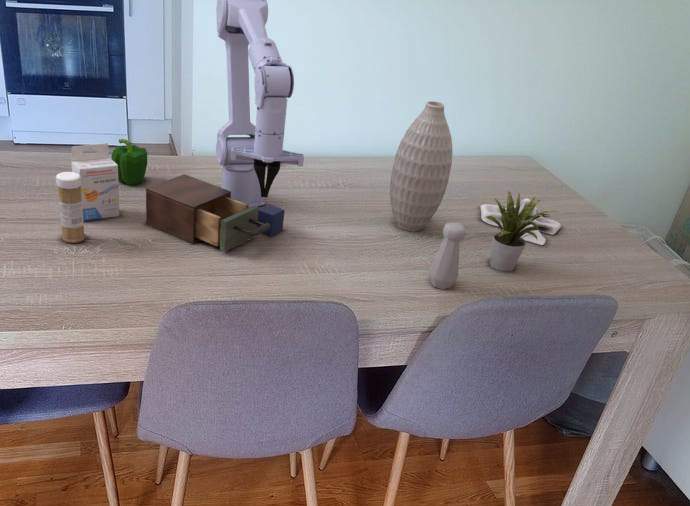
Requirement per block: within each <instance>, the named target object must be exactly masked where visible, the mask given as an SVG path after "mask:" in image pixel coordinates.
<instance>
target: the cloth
mask: <svg viewBox="0 0 690 506" xmlns="http://www.w3.org/2000/svg"><path fill="white" fill-rule="evenodd" d="M531 200H532V199H530V198H524V199H521V201H520V210H519V213H520V212H521V211H522V209H523V208H524V207H525V206H526V205H527V204H528V203H529V202H530V201H531ZM504 207H505V206H504ZM514 207H515V208H516V205H514ZM498 208H499V206H498V204H489V203H488V204H481V205H479V209H480V215H481V216H480V217H481V220H482V222H484V223H486V224H488V225H490V226H492V227H493V226H494V227H499V226H498V224H496V223H495V222H493V221H491V220H489V219H487V218H486V216H492V217H494V218H496V219H497V220H498V221H499V223H500V224H501V226H502V228H503V224H502V221H501V217H502V215H501V213H500V210H499V209H498ZM506 209H507V206H506V207H505V210H506ZM540 212H541V211H540V209H539V208H538V207H536V206H535V208H534V210H533V211H532V212H531V213H530V214H529V215H528V216H533V215H535V214H537V213H540ZM518 215H519V214H518ZM534 218H535V217H534ZM531 220H532V219H531ZM523 222H524V221H523ZM523 222H522V223H523ZM528 222H529V221H528ZM532 222H533V223H535V224H536V225H547V226H539V227H538V228H539V229H540V230H534V231H530V232H533V233H535V234H536V236H537V239H536V238H535V237H534V236H532V235H531V234H529V233H525V234H524V235H522V236H521V238H522V237H523V239H524V240H525V241H526V242H529V243H532V244H535V245H538V246H544V245H545V243H546V241H547V239H546V238H545V237H544V236H543V234H547V235H551V236H554V235H555V234H556V233H557V232H558V231H559V230H560V229H561V228H562V225H561V223H560V222H558V221H557V220H553V219H550V218H548V217H545V218H544V217H539V218H537V219H535V220H533V221H532ZM526 223H527V222H526ZM536 225H528V226H526V227H525V228H524V229H526V228H528V227H532V226H536ZM524 229H523V230H524ZM542 233H543V234H542ZM526 235H528V236H526ZM524 236H526V237H524Z"/></svg>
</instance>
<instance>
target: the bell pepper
mask: <svg viewBox="0 0 690 506" xmlns="http://www.w3.org/2000/svg"><path fill="white" fill-rule="evenodd" d="M118 143H119V144H125V146H126V147H125V146H122V145H117V146H116V147H115V149H113V150H112V153H111V159H112V160H113V161H114V162H115V163H116V164H117V165H118V182H121V183H125V184H126V185H132V186H133V185H139V184H141V183H142V182H143V181H144V180H145V176H146V173H147V167H148V150H147V149H146V148H145V147H139V146H138V145H136V144H132V145H131V143H130V142H129V141H128V139H125V138H119V139H118Z"/></svg>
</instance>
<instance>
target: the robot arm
mask: <svg viewBox="0 0 690 506" xmlns="http://www.w3.org/2000/svg"><path fill="white" fill-rule="evenodd" d="M215 7H216V9H215V13H216V14H215V16H216V32H217V37H218V38H219V39H221V40H223V41H224V44H225V45H224V46H225V52H226V78H227V102H228V103H227V104H228V121H227V122H226V123H225V124H224V125H222V126H221V127H220V128H219V129H218V131H217V133H216V147H215V154H216V160H217V162H218V164H219V165H220V166H221V167H222V175H221V176H222V178H221V179H222V180H221V188H223V189H226V190H228V191H231V198H232V199H235V200H237V201H240V202H243V203H245V204H248V205H249V206H248V208H249V207H252V206H254V205H255V206H258V207H262V206H264V205H265V204H266V203H265V202H264V198H265V199H266V198H269V192H270V190H271V187H272V184H273V183H274V181H275V178H276V177H277V175H278V174H279V172H280V170H281V164H284V165H285V164H286V165H294V166H298V167H304V161H305V154H304V153H299V152H298V153H297V152H293V151H288V150H284V149H283V148H284V139H285V128H286V117H287V110H288V109H287V107H288V99H290V98H292V96H293V93H294V88H295V75H294V71H293V68H292V66H291V65H289V64H288V63H286V62H283V59H282V56H281V55H280V52H279V49H278V47H277V44H276V42H275V41H274V40H273V39H271V38H269V37H268V33H267V29H266V24H267V22H268V17H269V3H268V0H216V6H215ZM249 60H250V64H251V67H252V70H253V72H254V81H253V82H254V93H255V95H254V96H255V97H254V101H255V102H254V103H255V105H256V116H255V125H254V123H252V122H251V101H250V99H251V98H250V70H249V69H250V67H249V65H250V64H249ZM229 136H230V137H229ZM266 162H268V163H266Z"/></svg>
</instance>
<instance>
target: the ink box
mask: <svg viewBox="0 0 690 506" xmlns="http://www.w3.org/2000/svg"><path fill="white" fill-rule="evenodd" d="M70 150H71V161H70V162H71V172H75V173H78V174H79V175H80V176H81V199H82V210H83V222H86V221H94V220H100V219H109V218H115V217H120V190H119V187H120V186H119V185H120V184H119V180H118V165H117V164H116V163H115V162H114V161H113V160H112V157H110V151H109V150H110V148H109V144H108V143H107V142H105V143H95V144H93V143H92V144H84V145H74V146H73V145H72V146H71V148H70ZM90 150H92V151H96V152H87V151H90ZM85 151H86V152H87V153H85Z"/></svg>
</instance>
